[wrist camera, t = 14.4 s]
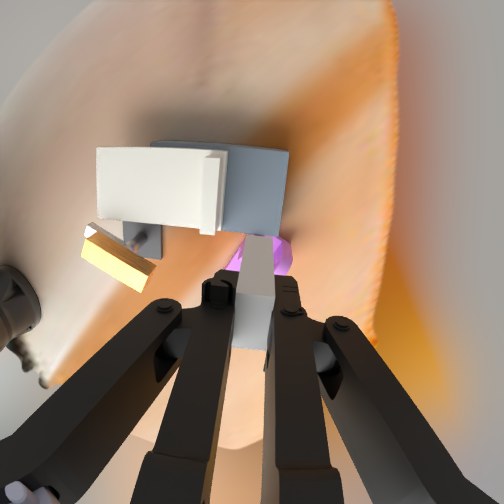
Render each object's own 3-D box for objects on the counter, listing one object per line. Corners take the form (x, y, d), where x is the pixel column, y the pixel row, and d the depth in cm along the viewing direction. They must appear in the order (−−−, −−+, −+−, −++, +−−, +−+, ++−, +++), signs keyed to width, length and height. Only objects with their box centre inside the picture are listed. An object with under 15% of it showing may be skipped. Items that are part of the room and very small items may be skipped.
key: (164, 260, 43) (140, 292, 34) (103, 224, 41) (69, 248, 33) (171, 246, 42) (148, 276, 34) (108, 210, 40) (73, 231, 32)
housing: (126, 253, 44) (111, 267, 39) (124, 140, 37) (107, 142, 33) (271, 271, 43) (271, 288, 39) (286, 149, 37) (289, 152, 32)
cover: (103, 215, 36) (86, 226, 32) (102, 146, 33) (83, 150, 29) (222, 226, 36) (216, 240, 32) (228, 150, 32) (222, 153, 28)
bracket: (256, 221, 41) (253, 239, 35) (290, 243, 42) (293, 264, 35) (209, 291, 46) (200, 317, 39) (241, 309, 46) (236, 337, 40)
